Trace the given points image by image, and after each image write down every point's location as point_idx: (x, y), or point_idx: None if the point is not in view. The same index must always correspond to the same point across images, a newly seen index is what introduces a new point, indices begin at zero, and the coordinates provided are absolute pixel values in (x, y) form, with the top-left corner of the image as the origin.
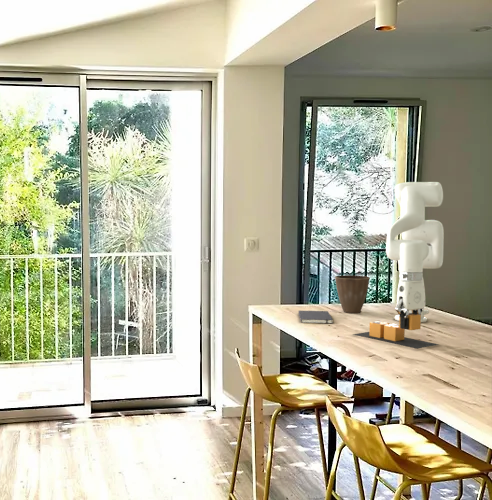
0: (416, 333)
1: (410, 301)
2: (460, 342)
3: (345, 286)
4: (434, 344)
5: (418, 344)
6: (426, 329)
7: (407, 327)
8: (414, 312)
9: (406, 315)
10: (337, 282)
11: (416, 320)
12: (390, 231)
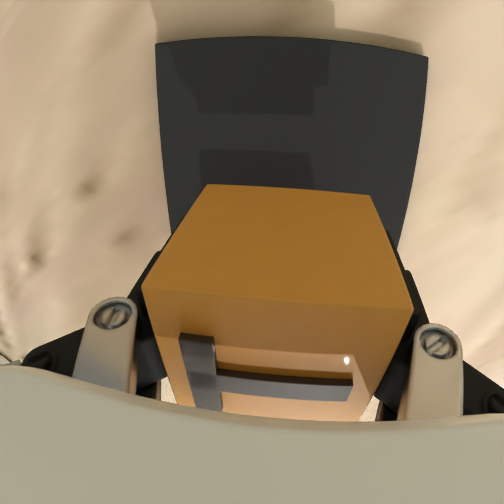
0: (61, 306)
1: None
2: (4, 75)
3: None
4: (185, 57)
5: (290, 122)
6: (5, 310)
7: (392, 241)
8: (136, 387)
9: (433, 362)
10: None
11: (272, 244)
12: None
